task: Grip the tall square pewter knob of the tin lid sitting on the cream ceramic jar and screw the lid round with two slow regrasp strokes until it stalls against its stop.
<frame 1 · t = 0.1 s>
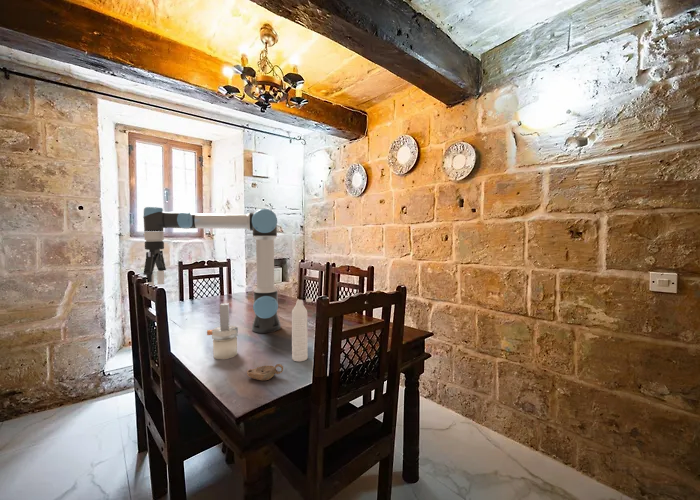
hand: (156, 286, 143), 28 cm above the table, fingers open, 13 cm apart
water bottle: (302, 358, 130), on the table
lid: (222, 320, 132), point 15 cm above the table, hinge at 0.0°
oil lamp: (265, 378, 113), on the table
jar: (225, 354, 134), on the table
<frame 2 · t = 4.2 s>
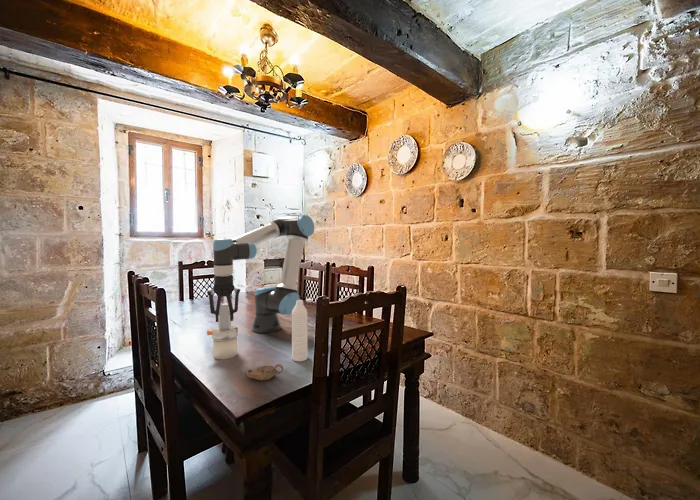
hand: (224, 328, 133), 12 cm above the table, fingers closed on lid, 3 cm apart
lid: (222, 320, 132), point 15 cm above the table, hinge at 0.0°, touching gripper
everything else where it was.
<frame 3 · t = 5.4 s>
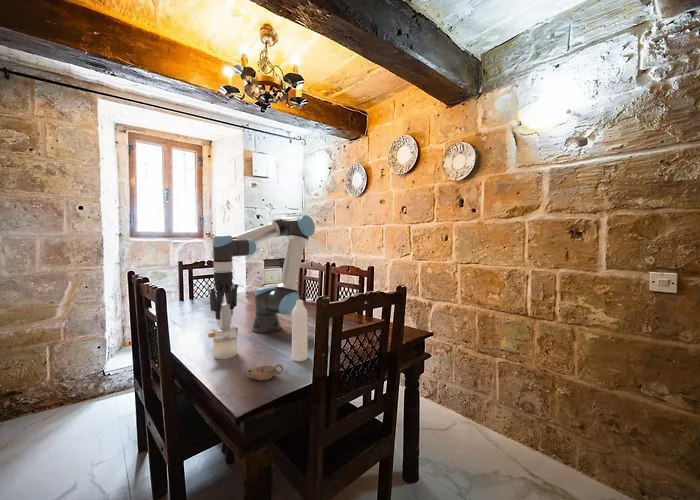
hand: (224, 324, 133), 13 cm above the table, fingers closed on lid, 4 cm apart
lid: (222, 320, 132), point 15 cm above the table, hinge at 34.3°, touching gripper
everything else where it was.
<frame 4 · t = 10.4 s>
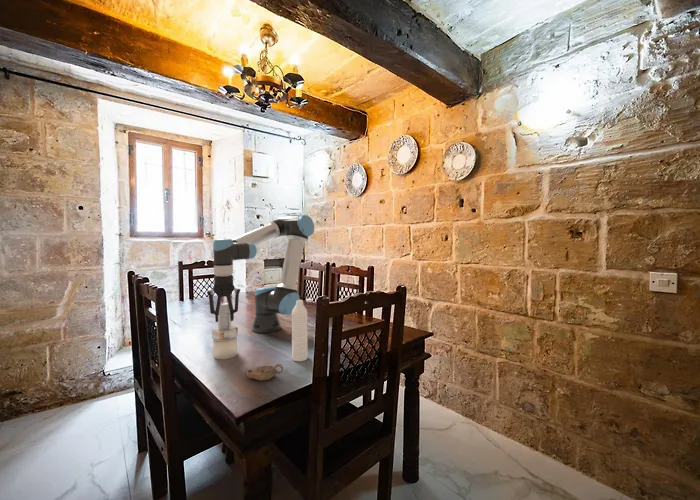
hand: (224, 328, 133), 12 cm above the table, fingers closed on lid, 3 cm apart
lid: (224, 320, 132), point 15 cm above the table, hinge at 86.2°, touching gripper
everything else where it was.
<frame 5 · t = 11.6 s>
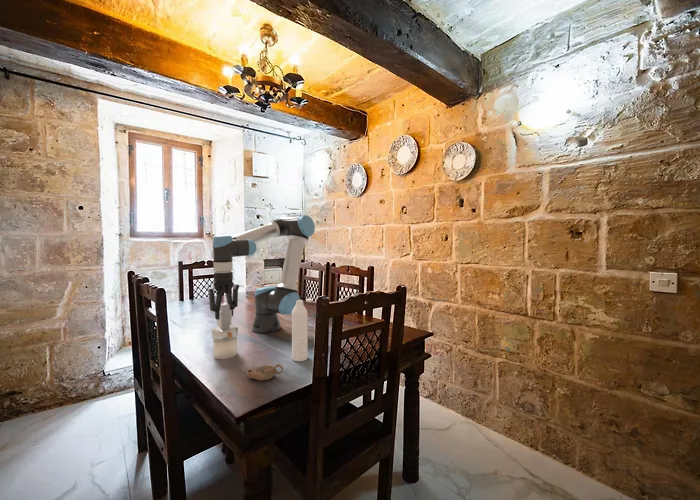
hand: (224, 325, 133), 13 cm above the table, fingers closed on lid, 4 cm apart
lid: (225, 320, 132), point 15 cm above the table, hinge at 115.2°, touching gripper
everything else where it was.
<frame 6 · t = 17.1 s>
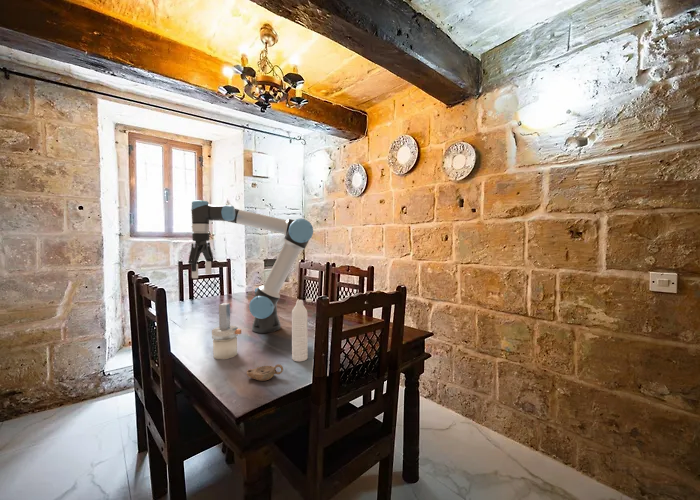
hand: (202, 276, 151), 32 cm above the table, fingers open, 13 cm apart
lid: (226, 320, 133), point 15 cm above the table, hinge at 161.0°
everything else where it was.
at the end: lid at +161° (first picture: +0°); the gripper is holding nothing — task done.
